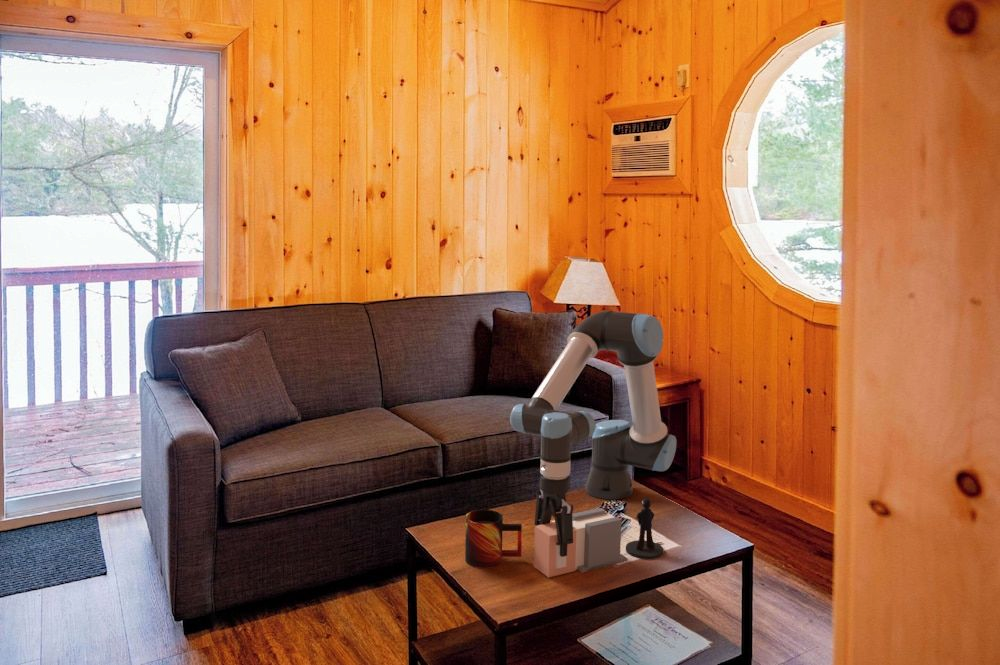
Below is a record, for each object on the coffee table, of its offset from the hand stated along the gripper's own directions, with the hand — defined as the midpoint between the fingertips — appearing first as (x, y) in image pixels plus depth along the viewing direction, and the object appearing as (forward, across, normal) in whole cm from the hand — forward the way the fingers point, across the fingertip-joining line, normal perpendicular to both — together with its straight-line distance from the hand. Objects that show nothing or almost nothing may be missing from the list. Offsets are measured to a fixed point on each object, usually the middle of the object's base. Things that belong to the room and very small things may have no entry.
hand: (552, 560), depth 213 cm
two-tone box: (+3, 0, +12) cm, 12 cm away
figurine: (+3, +2, +28) cm, 29 cm away
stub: (+2, 0, +1) cm, 2 cm away
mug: (+3, -13, -11) cm, 17 cm away
